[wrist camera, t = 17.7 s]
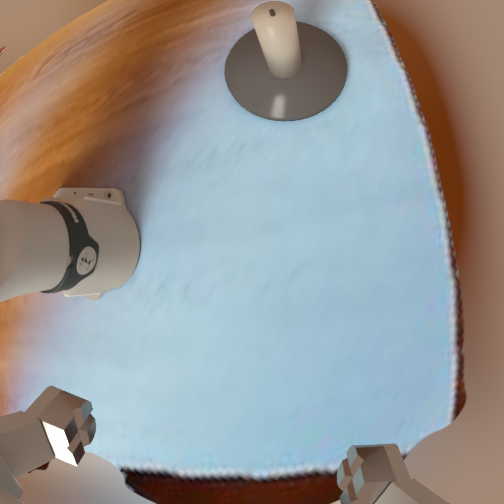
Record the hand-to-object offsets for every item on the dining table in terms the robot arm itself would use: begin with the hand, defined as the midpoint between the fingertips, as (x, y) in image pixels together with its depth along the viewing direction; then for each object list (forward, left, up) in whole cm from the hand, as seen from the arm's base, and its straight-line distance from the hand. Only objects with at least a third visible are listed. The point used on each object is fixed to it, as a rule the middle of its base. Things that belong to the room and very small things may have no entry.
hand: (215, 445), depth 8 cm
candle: (-11, +30, -33) cm, 46 cm away
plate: (-11, +30, -35) cm, 47 cm away
